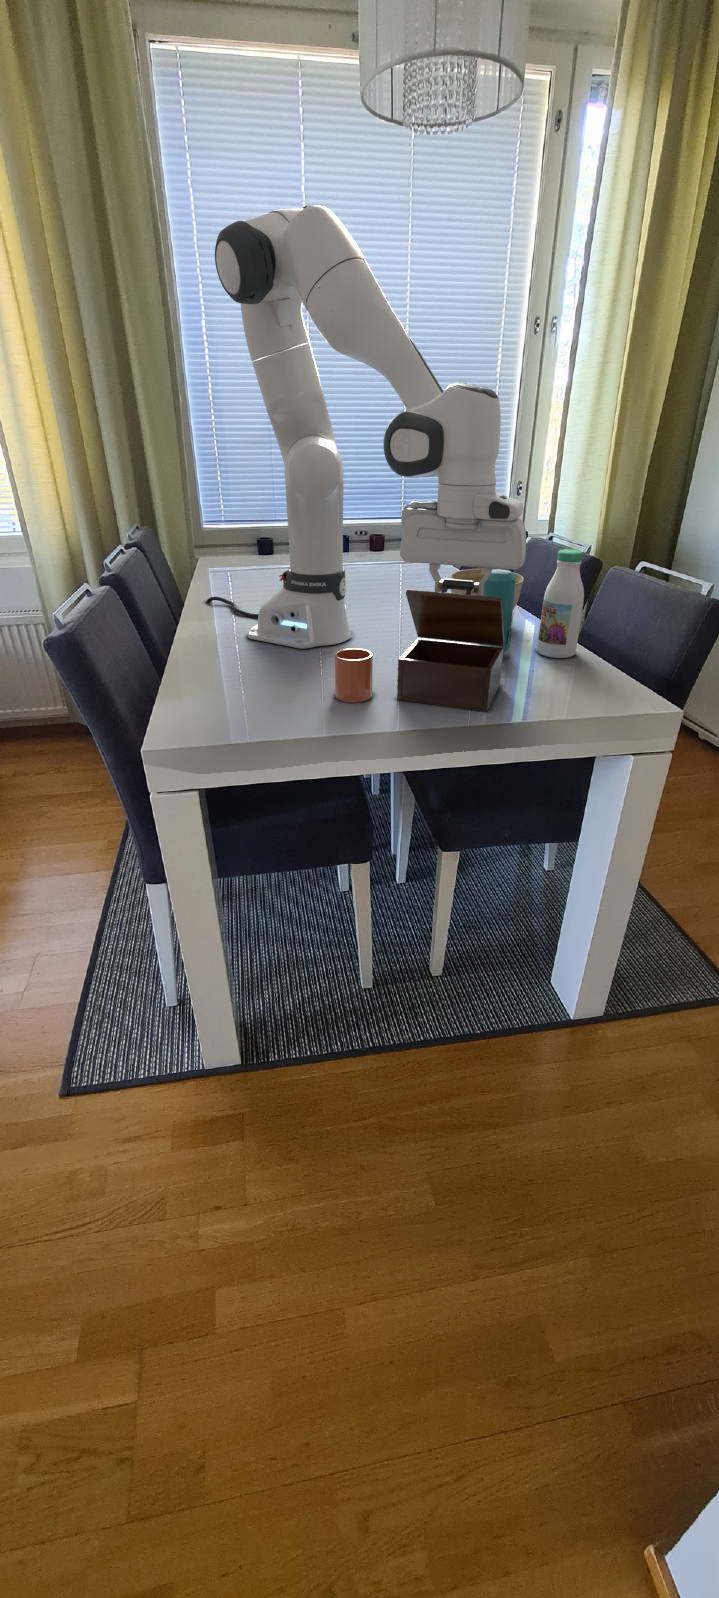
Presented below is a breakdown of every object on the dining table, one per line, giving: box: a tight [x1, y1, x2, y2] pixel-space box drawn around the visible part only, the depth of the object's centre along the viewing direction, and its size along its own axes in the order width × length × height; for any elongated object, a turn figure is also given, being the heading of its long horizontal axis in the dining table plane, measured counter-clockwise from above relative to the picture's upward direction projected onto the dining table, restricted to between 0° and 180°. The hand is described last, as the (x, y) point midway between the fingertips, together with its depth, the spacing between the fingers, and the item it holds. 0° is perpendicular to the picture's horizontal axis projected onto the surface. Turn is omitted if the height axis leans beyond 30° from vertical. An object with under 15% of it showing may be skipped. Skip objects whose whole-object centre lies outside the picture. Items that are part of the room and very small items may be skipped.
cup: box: [334, 647, 374, 704], centre depth 120 cm, size 6×6×8 cm
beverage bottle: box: [477, 568, 516, 653], centre depth 135 cm, size 6×7×20 cm
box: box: [396, 637, 504, 712], centre depth 121 cm, size 13×16×7 cm
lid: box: [405, 578, 504, 646], centre depth 118 cm, size 14×16×5 cm
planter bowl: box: [449, 568, 525, 610], centre depth 157 cm, size 16×16×11 cm
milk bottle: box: [536, 548, 585, 659], centre depth 137 cm, size 8×8×20 cm
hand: (458, 593), depth 116 cm, fingers closed on lid, 5 cm apart
